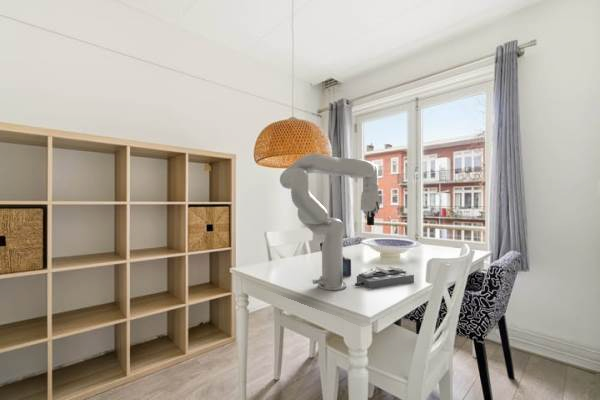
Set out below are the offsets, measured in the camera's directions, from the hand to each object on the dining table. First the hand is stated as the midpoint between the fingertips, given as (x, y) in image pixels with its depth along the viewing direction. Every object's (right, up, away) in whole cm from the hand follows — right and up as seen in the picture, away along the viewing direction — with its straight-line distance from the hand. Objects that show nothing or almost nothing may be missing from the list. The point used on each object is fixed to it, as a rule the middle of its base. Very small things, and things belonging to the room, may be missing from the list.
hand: (370, 224), depth 139 cm
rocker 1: (-3, -22, -8) cm, 24 cm away
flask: (-13, -28, +6) cm, 31 cm away
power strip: (+4, -27, -8) cm, 28 cm away
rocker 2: (+5, -22, -5) cm, 23 cm away
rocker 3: (+12, -22, -2) cm, 25 cm away
